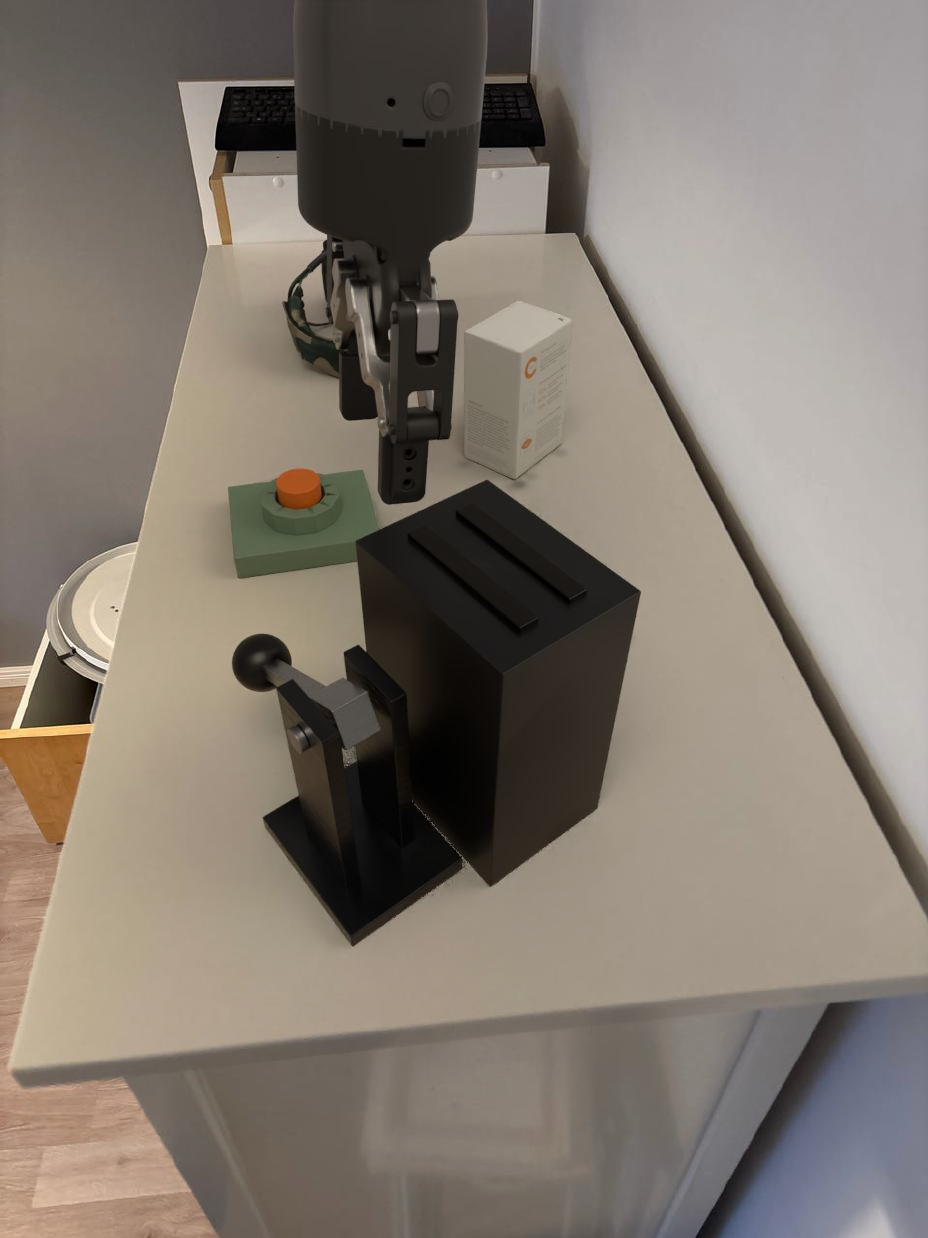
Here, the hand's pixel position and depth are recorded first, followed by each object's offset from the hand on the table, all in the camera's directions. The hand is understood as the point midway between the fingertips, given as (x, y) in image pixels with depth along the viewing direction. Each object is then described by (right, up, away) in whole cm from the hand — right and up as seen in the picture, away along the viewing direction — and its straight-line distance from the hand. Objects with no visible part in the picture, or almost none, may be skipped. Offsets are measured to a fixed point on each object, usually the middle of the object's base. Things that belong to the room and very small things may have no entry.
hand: (379, 455), depth 46 cm
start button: (-9, +2, +29) cm, 30 cm away
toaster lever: (-5, -14, +5) cm, 15 cm away
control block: (-9, -1, +31) cm, 33 cm away
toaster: (+6, -19, +12) cm, 24 cm away
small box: (+9, +8, +40) cm, 42 cm away
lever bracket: (-2, -23, +9) cm, 24 cm away
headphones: (-8, +24, +57) cm, 62 cm away
